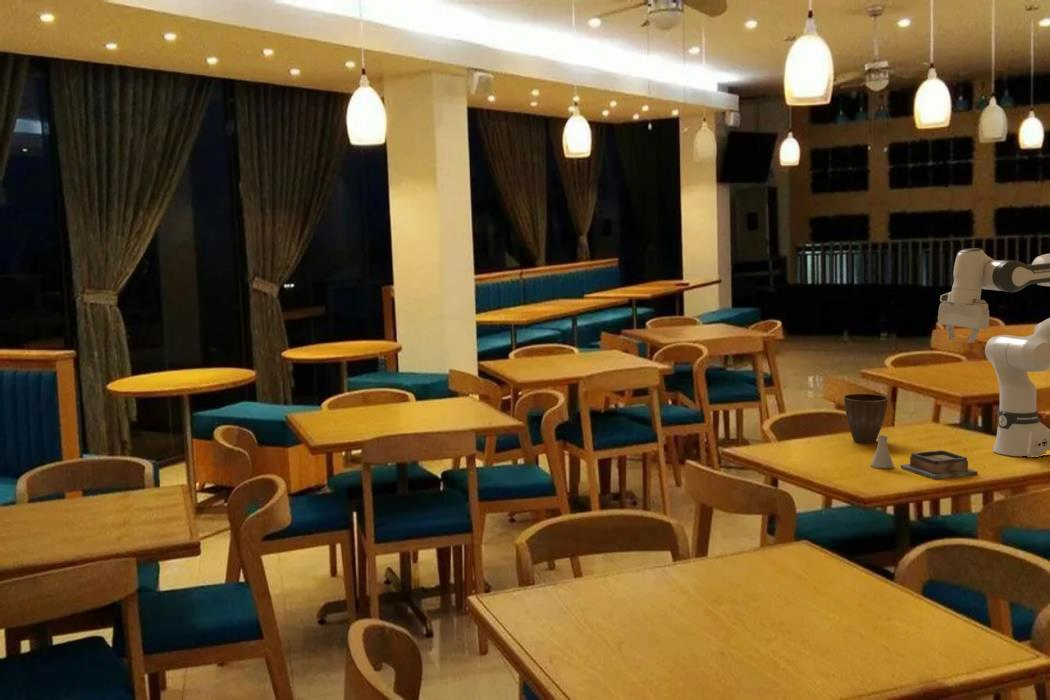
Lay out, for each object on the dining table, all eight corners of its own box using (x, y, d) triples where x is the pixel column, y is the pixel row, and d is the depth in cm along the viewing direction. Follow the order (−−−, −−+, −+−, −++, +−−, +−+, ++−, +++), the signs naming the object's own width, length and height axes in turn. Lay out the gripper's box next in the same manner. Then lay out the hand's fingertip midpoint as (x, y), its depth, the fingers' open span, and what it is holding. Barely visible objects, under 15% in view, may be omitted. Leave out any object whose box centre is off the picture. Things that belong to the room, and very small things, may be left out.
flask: (890, 464, 341) (891, 433, 340) (896, 469, 334) (897, 438, 333) (867, 464, 342) (868, 433, 341) (873, 469, 335) (873, 438, 333)
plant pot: (882, 437, 381) (883, 393, 379) (891, 446, 367) (892, 400, 365) (840, 437, 383) (840, 393, 381) (846, 445, 369) (847, 400, 367)
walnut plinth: (943, 463, 340) (943, 448, 339) (977, 474, 324) (978, 458, 324) (900, 468, 335) (900, 452, 335) (933, 479, 320) (933, 463, 319)
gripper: (996, 301, 331) (991, 344, 332) (952, 296, 350) (948, 338, 352) (979, 300, 329) (975, 344, 330) (936, 295, 348) (932, 337, 350)
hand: (960, 341), depth 341 cm, fingers open, 8 cm apart
